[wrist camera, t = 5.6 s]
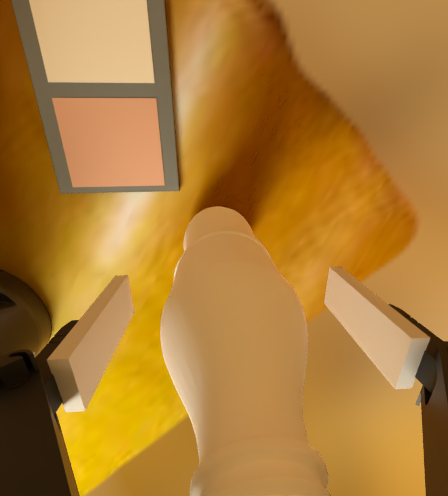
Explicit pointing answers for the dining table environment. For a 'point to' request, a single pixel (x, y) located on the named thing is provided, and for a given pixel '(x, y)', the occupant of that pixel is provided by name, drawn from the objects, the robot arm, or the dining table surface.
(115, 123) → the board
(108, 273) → the dining table surface
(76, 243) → the dining table surface
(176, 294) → the water bottle
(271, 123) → the dining table surface
